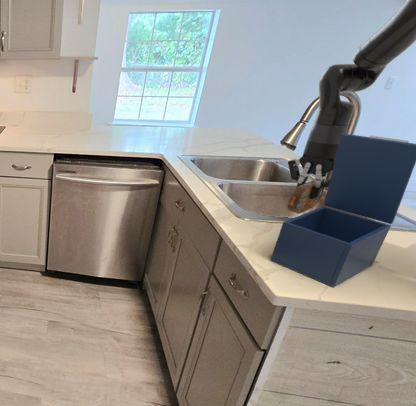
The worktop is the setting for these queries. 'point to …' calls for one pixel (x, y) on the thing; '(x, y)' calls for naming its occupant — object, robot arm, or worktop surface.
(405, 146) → the box lid
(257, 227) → the worktop surface
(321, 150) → the robot arm
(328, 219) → the blue box
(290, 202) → the tin
